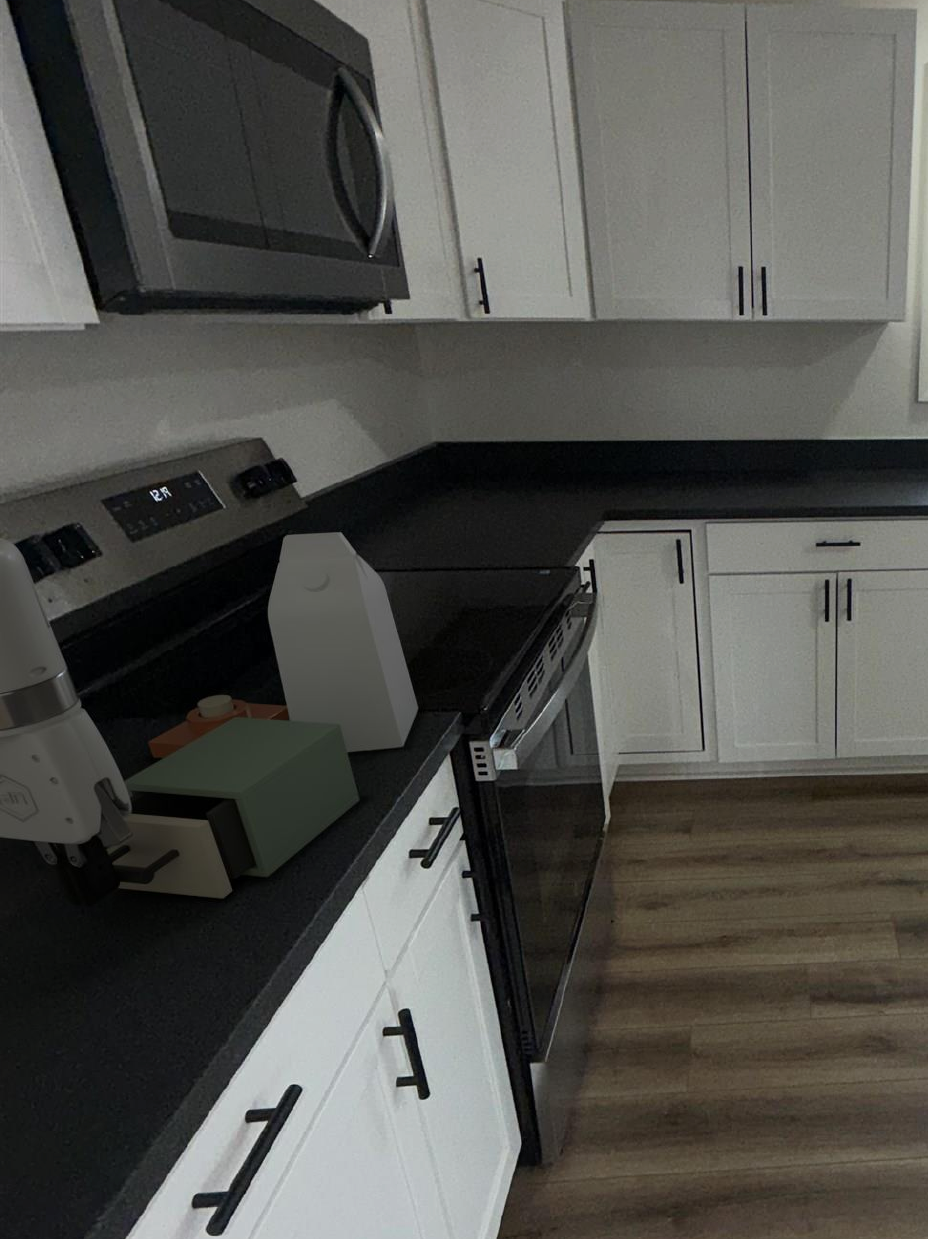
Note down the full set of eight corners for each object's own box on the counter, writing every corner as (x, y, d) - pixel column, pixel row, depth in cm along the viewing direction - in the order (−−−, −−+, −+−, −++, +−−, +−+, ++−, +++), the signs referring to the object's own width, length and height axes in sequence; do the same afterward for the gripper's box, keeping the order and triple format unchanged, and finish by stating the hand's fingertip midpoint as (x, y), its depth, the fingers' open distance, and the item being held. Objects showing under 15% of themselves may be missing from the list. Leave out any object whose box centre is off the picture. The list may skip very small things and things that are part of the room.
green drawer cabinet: (267, 877, 86) (239, 792, 82) (152, 866, 87) (120, 782, 83) (359, 800, 99) (340, 723, 95) (258, 792, 101) (235, 716, 97)
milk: (418, 708, 121) (377, 521, 110) (402, 746, 111) (356, 543, 100) (322, 718, 118) (271, 526, 107) (298, 757, 108) (238, 550, 97)
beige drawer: (186, 928, 77) (157, 855, 74) (72, 917, 79) (40, 844, 76) (319, 820, 93) (301, 755, 90) (223, 812, 95) (201, 748, 92)
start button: (220, 720, 109) (216, 707, 109) (194, 718, 110) (190, 705, 109) (241, 708, 113) (237, 695, 112) (216, 706, 113) (212, 693, 112)
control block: (226, 763, 107) (216, 734, 105) (153, 757, 108) (142, 728, 106) (293, 720, 118) (286, 693, 116) (226, 715, 119) (218, 688, 117)
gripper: (-124, 715, 65) (-23, 915, 73) (51, 728, 63) (136, 932, 71) (-21, 675, 72) (61, 862, 79) (140, 686, 70) (209, 877, 77)
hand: (96, 895), depth 75 cm, fingers closed
